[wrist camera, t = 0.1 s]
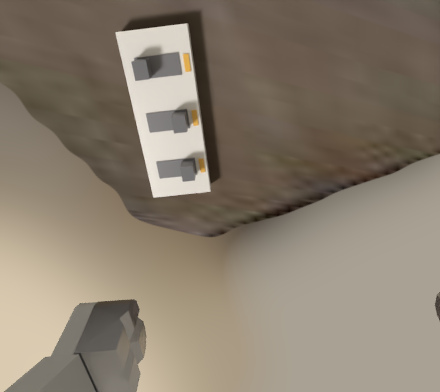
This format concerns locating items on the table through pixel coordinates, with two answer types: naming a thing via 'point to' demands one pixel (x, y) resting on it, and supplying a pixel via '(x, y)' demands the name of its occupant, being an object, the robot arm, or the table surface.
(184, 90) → the switch panel
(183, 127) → the switch
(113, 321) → the robot arm
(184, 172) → the switch
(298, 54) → the table surface
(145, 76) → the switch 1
